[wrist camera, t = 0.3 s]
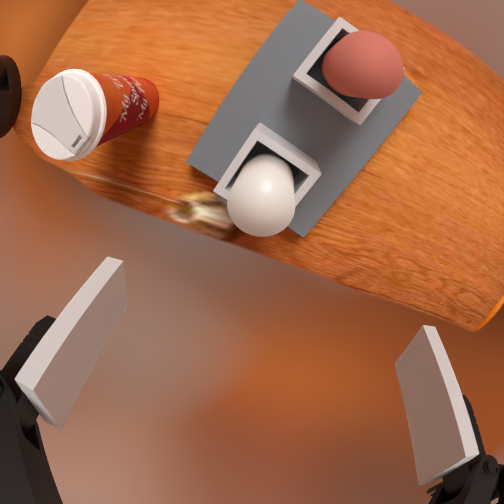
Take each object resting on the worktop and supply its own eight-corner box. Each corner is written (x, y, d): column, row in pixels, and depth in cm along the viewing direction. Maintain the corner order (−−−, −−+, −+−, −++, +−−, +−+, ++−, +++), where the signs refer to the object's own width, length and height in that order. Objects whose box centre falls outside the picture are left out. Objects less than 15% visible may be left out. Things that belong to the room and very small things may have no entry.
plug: (230, 185, 29) (214, 213, 23) (259, 142, 26) (250, 160, 20) (273, 212, 30) (269, 248, 24) (304, 173, 27) (309, 199, 21)
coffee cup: (181, 102, 31) (115, 116, 18) (135, 145, 34) (60, 184, 21) (141, 55, 28) (61, 48, 15) (98, 100, 31) (15, 120, 19)
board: (193, 156, 34) (170, 174, 28) (298, 6, 24) (301, -17, 17) (302, 226, 38) (305, 260, 31) (411, 91, 27) (443, 95, 20)
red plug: (310, 73, 22) (318, 67, 16) (341, 34, 20) (359, 17, 14) (355, 107, 23) (377, 113, 17) (386, 68, 21) (416, 64, 15)
